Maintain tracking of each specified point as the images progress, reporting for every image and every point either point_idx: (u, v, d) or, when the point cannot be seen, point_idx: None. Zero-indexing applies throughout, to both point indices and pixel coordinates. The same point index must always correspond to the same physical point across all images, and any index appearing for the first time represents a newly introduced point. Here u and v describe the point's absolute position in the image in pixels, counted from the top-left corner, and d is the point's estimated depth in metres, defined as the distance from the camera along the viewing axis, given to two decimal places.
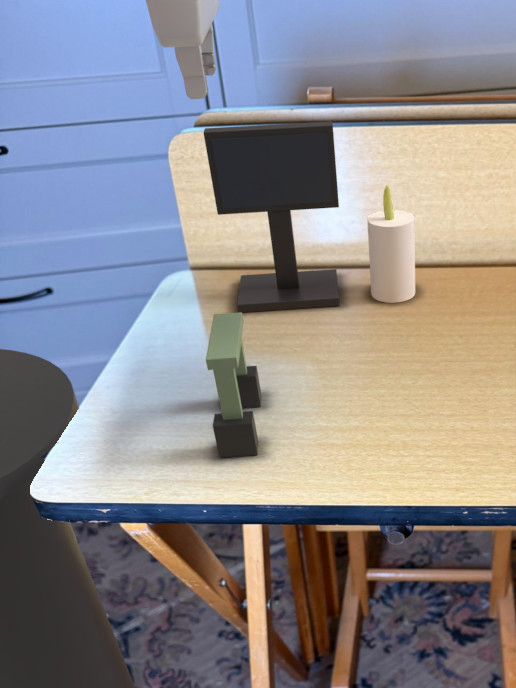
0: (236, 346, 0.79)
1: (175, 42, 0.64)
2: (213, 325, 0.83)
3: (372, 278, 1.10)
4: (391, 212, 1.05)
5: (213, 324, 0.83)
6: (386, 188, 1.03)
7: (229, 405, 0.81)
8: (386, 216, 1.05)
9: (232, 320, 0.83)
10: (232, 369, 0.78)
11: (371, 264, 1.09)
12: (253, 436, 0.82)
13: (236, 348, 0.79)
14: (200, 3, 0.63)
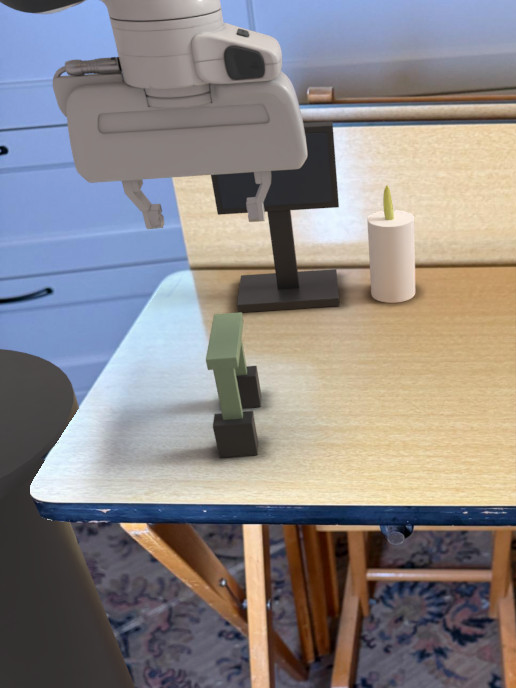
0: (236, 346, 0.79)
1: None
2: (213, 325, 0.83)
3: (372, 278, 1.10)
4: (391, 212, 1.05)
5: (213, 324, 0.83)
6: (386, 188, 1.03)
7: (229, 405, 0.81)
8: (386, 216, 1.05)
9: (232, 320, 0.83)
10: (232, 369, 0.78)
11: (371, 264, 1.09)
12: (253, 436, 0.82)
13: (236, 348, 0.79)
14: None
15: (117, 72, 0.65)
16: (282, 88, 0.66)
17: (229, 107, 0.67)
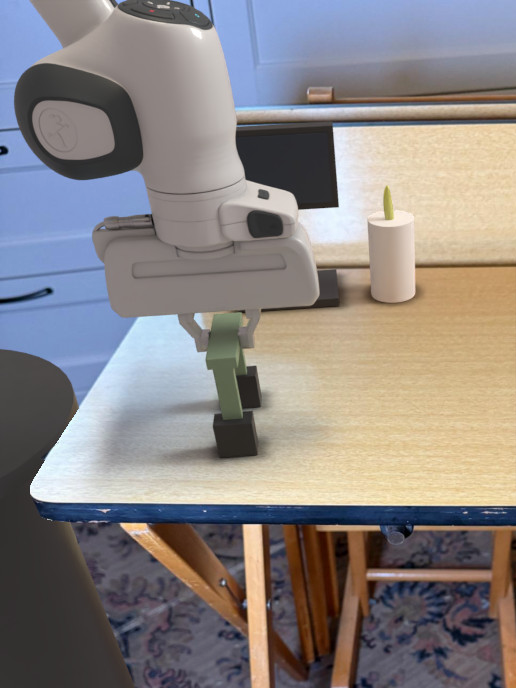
0: (236, 346, 0.79)
1: None
2: (213, 325, 0.83)
3: (372, 278, 1.10)
4: (391, 212, 1.05)
5: (213, 324, 0.83)
6: (386, 188, 1.03)
7: (229, 405, 0.81)
8: (386, 216, 1.05)
9: (231, 320, 0.83)
10: (232, 369, 0.78)
11: (371, 264, 1.09)
12: (253, 436, 0.82)
13: (236, 348, 0.79)
14: None
15: (150, 227, 0.73)
16: (298, 242, 0.73)
17: (250, 256, 0.75)
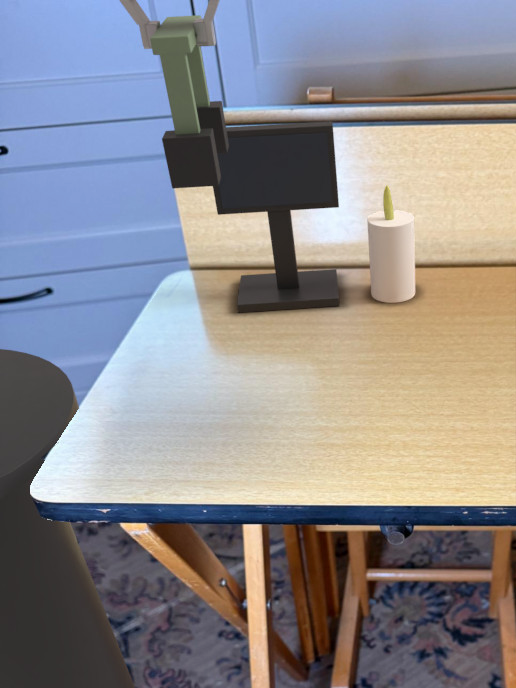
0: (189, 30, 0.64)
1: None
2: (164, 22, 0.67)
3: (372, 278, 1.10)
4: (391, 212, 1.05)
5: (164, 21, 0.68)
6: (386, 188, 1.03)
7: (182, 111, 0.66)
8: (386, 216, 1.05)
9: (188, 19, 0.68)
10: (184, 55, 0.63)
11: (371, 264, 1.09)
12: (212, 156, 0.67)
13: (189, 31, 0.63)
14: None
15: None
16: None
17: None
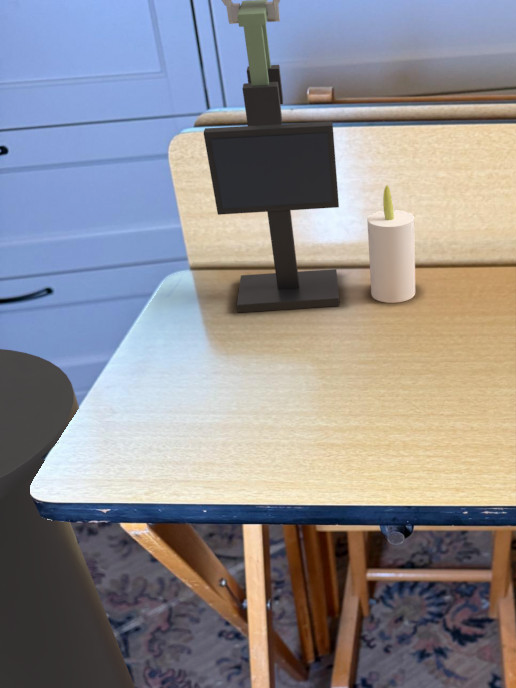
0: (264, 9, 0.89)
1: None
2: (242, 4, 0.92)
3: (372, 278, 1.10)
4: (391, 212, 1.05)
5: (242, 3, 0.93)
6: (386, 188, 1.03)
7: (257, 68, 0.91)
8: (386, 216, 1.05)
9: (258, 2, 0.93)
10: (260, 26, 0.88)
11: (371, 264, 1.09)
12: (278, 102, 0.92)
13: (264, 10, 0.89)
14: None
15: None
16: None
17: None
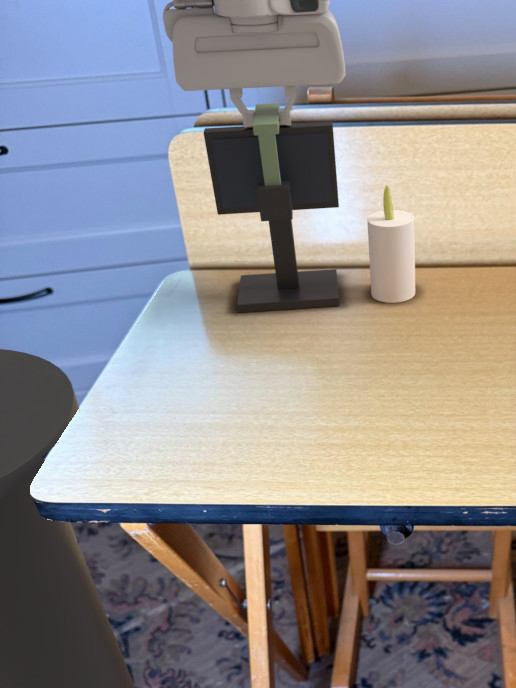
0: (276, 118, 0.96)
1: None
2: (256, 109, 1.00)
3: (372, 278, 1.10)
4: (391, 212, 1.05)
5: (256, 108, 1.00)
6: (386, 188, 1.03)
7: (270, 171, 0.98)
8: (386, 216, 1.05)
9: (271, 106, 1.01)
10: (274, 135, 0.95)
11: (371, 264, 1.09)
12: (289, 200, 1.00)
13: (277, 119, 0.96)
14: None
15: (210, 6, 0.90)
16: (330, 20, 0.90)
17: (290, 34, 0.92)
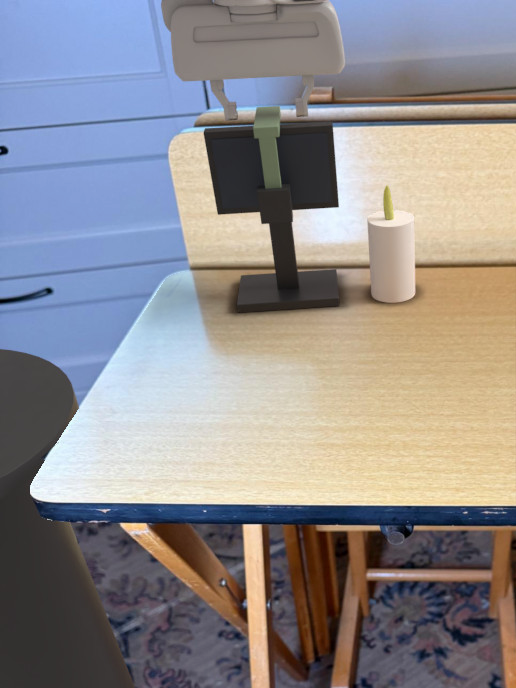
0: (277, 121, 0.96)
1: None
2: (257, 112, 1.00)
3: (372, 278, 1.10)
4: (391, 212, 1.05)
5: (257, 111, 1.00)
6: (386, 188, 1.03)
7: (271, 173, 0.98)
8: (386, 216, 1.05)
9: (272, 109, 1.01)
10: (274, 138, 0.96)
11: (371, 264, 1.09)
12: (290, 203, 1.00)
13: (277, 122, 0.96)
14: None
15: None
16: (329, 9, 0.90)
17: (289, 24, 0.91)
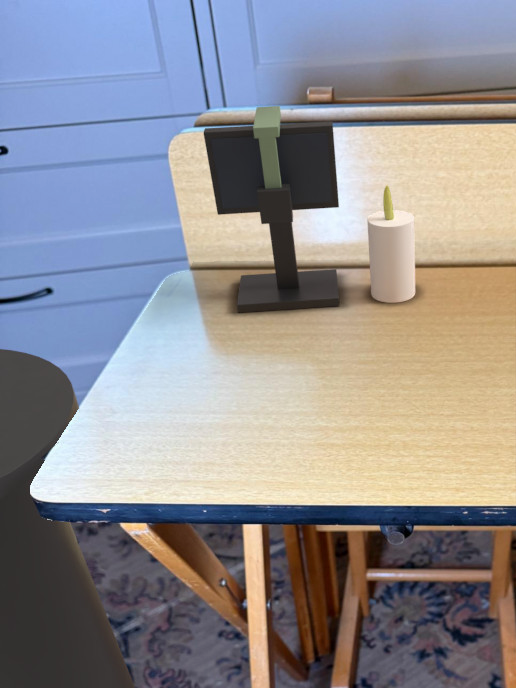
0: (277, 121, 0.96)
1: None
2: (257, 112, 1.00)
3: (372, 278, 1.10)
4: (391, 212, 1.05)
5: (257, 111, 1.00)
6: (386, 188, 1.03)
7: (271, 173, 0.98)
8: (386, 216, 1.05)
9: (272, 109, 1.01)
10: (274, 138, 0.96)
11: (371, 264, 1.09)
12: (290, 203, 1.00)
13: (277, 122, 0.96)
14: None
15: None
16: None
17: None
